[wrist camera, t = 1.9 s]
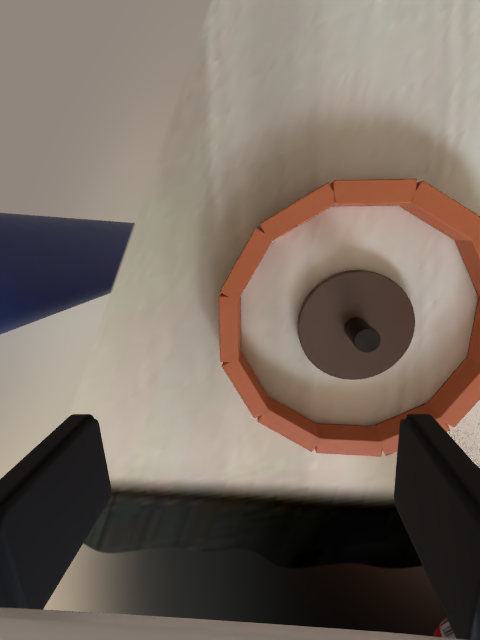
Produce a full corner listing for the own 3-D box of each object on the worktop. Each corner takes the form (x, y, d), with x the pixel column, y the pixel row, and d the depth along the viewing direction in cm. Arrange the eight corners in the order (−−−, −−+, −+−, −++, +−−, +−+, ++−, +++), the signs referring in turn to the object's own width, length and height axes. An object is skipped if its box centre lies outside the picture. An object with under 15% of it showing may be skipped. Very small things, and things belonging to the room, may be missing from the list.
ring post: (295, 373, 28) (299, 396, 24) (300, 269, 26) (305, 276, 22) (403, 377, 27) (425, 401, 23) (418, 270, 25) (445, 277, 21)
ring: (225, 433, 30) (221, 448, 28) (220, 186, 25) (216, 182, 22) (468, 445, 28) (484, 462, 26) (522, 181, 23) (548, 176, 21)
